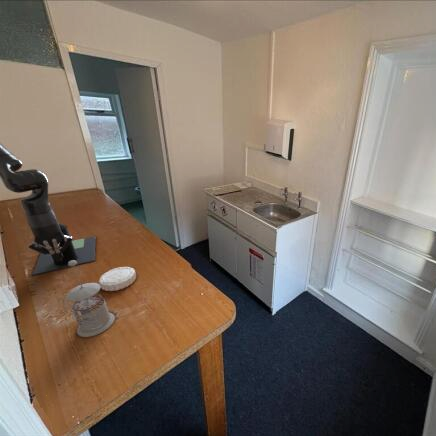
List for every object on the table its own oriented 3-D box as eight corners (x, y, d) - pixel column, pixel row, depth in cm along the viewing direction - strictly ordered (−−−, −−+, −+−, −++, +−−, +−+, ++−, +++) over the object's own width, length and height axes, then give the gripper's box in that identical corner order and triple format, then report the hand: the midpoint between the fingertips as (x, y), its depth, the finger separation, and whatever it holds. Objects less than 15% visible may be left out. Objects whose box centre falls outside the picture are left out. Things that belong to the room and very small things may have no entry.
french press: (102, 336, 72) (77, 271, 62) (62, 337, 71) (29, 271, 61) (121, 312, 81) (101, 251, 71) (85, 312, 80) (60, 251, 70)
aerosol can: (72, 253, 110) (58, 214, 101) (82, 258, 106) (67, 219, 98) (50, 261, 103) (32, 221, 94) (59, 267, 100) (42, 226, 91)
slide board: (32, 275, 95) (32, 274, 95) (43, 246, 113) (43, 246, 113) (94, 260, 106) (94, 260, 106) (95, 236, 125) (95, 236, 125)
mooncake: (110, 296, 88) (108, 288, 86) (94, 284, 93) (92, 276, 91) (142, 278, 97) (140, 271, 96) (126, 268, 102) (124, 262, 101)
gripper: (67, 215, 95) (80, 251, 102) (20, 222, 88) (38, 260, 95) (65, 222, 90) (79, 259, 97) (15, 230, 82) (34, 270, 89)
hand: (59, 260), depth 96 cm, fingers closed
